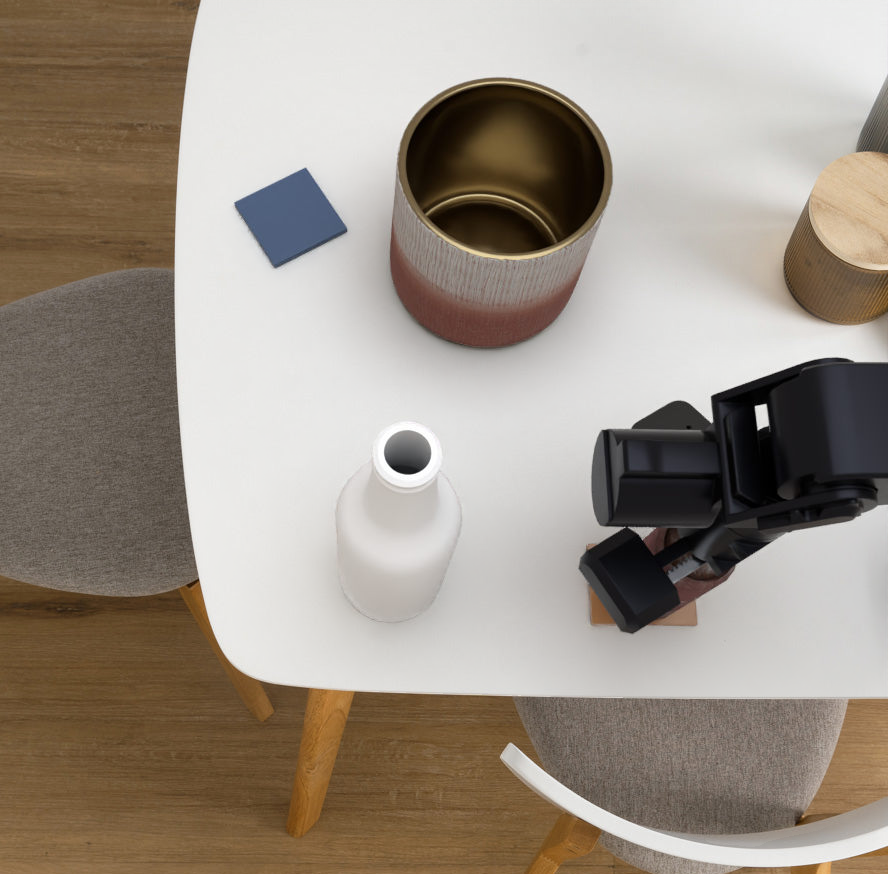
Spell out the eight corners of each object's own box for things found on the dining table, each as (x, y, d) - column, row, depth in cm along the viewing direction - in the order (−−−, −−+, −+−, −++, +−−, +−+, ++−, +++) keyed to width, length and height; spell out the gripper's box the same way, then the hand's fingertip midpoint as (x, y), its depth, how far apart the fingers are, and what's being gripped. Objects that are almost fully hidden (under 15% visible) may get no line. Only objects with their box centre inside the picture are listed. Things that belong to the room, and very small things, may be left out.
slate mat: (306, 170, 95) (305, 166, 95) (347, 231, 93) (347, 228, 93) (234, 205, 94) (233, 202, 93) (275, 268, 92) (274, 265, 91)
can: (681, 553, 84) (742, 505, 71) (680, 625, 82) (743, 590, 69) (612, 545, 84) (660, 496, 71) (609, 617, 82) (658, 581, 69)
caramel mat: (688, 546, 85) (690, 545, 84) (695, 626, 83) (697, 624, 82) (586, 545, 84) (587, 543, 84) (590, 625, 82) (592, 623, 82)
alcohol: (334, 530, 84) (321, 389, 56) (433, 518, 85) (472, 373, 56) (346, 630, 82) (339, 536, 53) (448, 617, 82) (496, 517, 54)
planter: (561, 185, 96) (599, 70, 80) (585, 348, 90) (631, 256, 75) (382, 193, 95) (387, 78, 80) (396, 358, 89) (403, 267, 74)
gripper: (792, 323, 63) (708, 415, 78) (556, 462, 59) (516, 530, 74) (903, 462, 60) (794, 530, 75) (663, 615, 57) (599, 654, 72)
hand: (675, 557), depth 74 cm, fingers open, 9 cm apart
